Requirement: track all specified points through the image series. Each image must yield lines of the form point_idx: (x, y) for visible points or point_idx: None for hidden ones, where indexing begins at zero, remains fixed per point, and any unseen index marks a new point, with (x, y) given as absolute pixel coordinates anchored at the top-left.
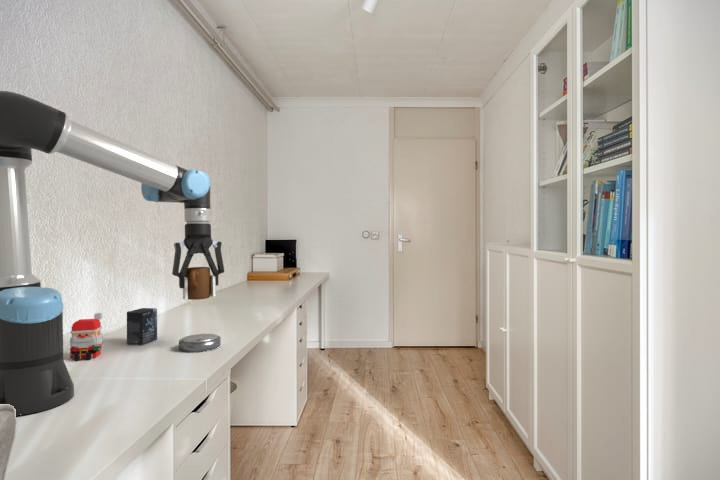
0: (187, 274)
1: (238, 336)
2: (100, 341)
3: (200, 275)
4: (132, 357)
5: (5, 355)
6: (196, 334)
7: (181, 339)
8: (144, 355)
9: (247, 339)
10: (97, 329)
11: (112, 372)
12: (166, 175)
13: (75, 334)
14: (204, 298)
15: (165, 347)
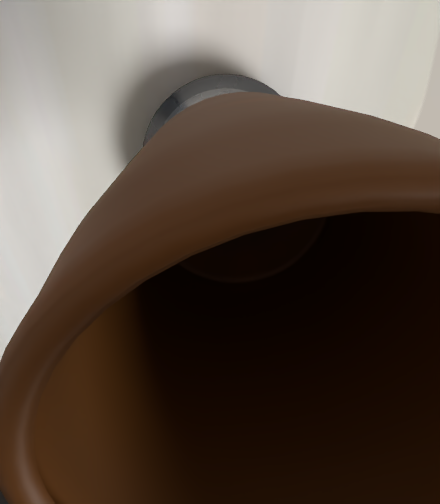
0: (129, 461)
1: (411, 4)
2: None
3: (300, 467)
4: (4, 207)
5: None
6: (213, 92)
7: (150, 138)
8: (38, 196)
9: (417, 100)
10: None
11: (13, 332)
12: None
13: None
14: (281, 271)
15: (86, 95)
